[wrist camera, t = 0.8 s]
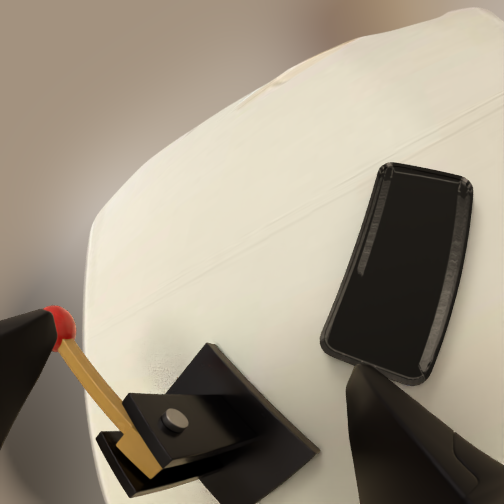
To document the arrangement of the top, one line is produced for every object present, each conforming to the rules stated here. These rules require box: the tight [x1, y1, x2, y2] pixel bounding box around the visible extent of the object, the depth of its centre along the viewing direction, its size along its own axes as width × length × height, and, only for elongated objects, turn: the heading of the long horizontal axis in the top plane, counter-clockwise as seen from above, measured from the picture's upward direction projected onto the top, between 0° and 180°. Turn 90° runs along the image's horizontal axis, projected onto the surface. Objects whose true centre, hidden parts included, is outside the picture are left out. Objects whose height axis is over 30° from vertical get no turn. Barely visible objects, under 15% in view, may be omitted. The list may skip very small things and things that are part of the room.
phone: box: [320, 162, 473, 386], centre depth 18 cm, size 8×1×15 cm
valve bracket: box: [96, 343, 320, 504], centre depth 16 cm, size 12×9×10 cm
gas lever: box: [43, 306, 163, 479], centre depth 15 cm, size 13×3×3 cm, turn 46°
